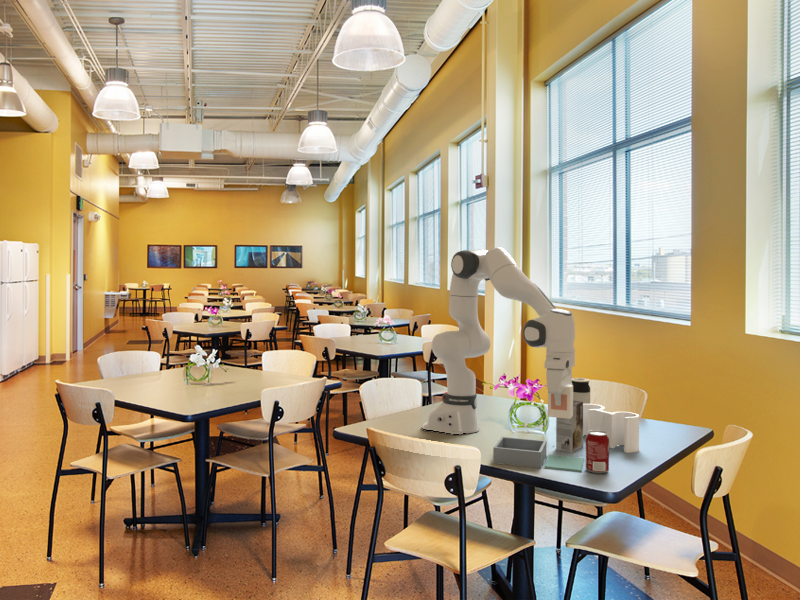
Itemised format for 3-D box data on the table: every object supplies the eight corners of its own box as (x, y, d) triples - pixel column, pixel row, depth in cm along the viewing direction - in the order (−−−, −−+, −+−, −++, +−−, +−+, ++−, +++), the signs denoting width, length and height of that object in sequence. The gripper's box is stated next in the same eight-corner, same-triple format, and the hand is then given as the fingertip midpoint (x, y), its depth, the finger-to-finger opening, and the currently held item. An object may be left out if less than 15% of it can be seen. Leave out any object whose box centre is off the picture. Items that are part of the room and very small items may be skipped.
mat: (544, 468, 185) (544, 466, 185) (549, 456, 197) (549, 454, 197) (581, 471, 181) (581, 470, 181) (583, 459, 193) (583, 458, 193)
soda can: (608, 475, 177) (608, 436, 177) (584, 473, 180) (585, 434, 179) (609, 469, 183) (609, 430, 183) (586, 466, 186) (586, 428, 185)
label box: (570, 418, 185) (570, 387, 185) (547, 416, 188) (547, 385, 188) (572, 415, 189) (573, 384, 189) (550, 413, 192) (551, 383, 192)
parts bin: (493, 463, 190) (493, 447, 190) (501, 451, 203) (501, 436, 203) (541, 468, 184) (541, 452, 184) (546, 455, 198) (546, 440, 197)
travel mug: (570, 424, 239) (571, 380, 239) (568, 420, 247) (569, 377, 247) (591, 425, 238) (591, 381, 237) (588, 421, 246) (588, 378, 245)
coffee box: (566, 443, 212) (566, 398, 212) (583, 446, 208) (583, 401, 207) (555, 449, 205) (555, 403, 204) (573, 452, 201) (573, 405, 200)
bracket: (645, 449, 205) (646, 415, 204) (627, 454, 199) (627, 418, 199) (588, 433, 226) (588, 402, 225) (570, 437, 221) (570, 405, 220)
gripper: (557, 356, 199) (557, 396, 199) (543, 363, 181) (542, 408, 181) (576, 356, 196) (576, 398, 196) (564, 364, 178) (563, 410, 178)
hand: (560, 403), depth 188 cm, fingers closed on label box, 5 cm apart
